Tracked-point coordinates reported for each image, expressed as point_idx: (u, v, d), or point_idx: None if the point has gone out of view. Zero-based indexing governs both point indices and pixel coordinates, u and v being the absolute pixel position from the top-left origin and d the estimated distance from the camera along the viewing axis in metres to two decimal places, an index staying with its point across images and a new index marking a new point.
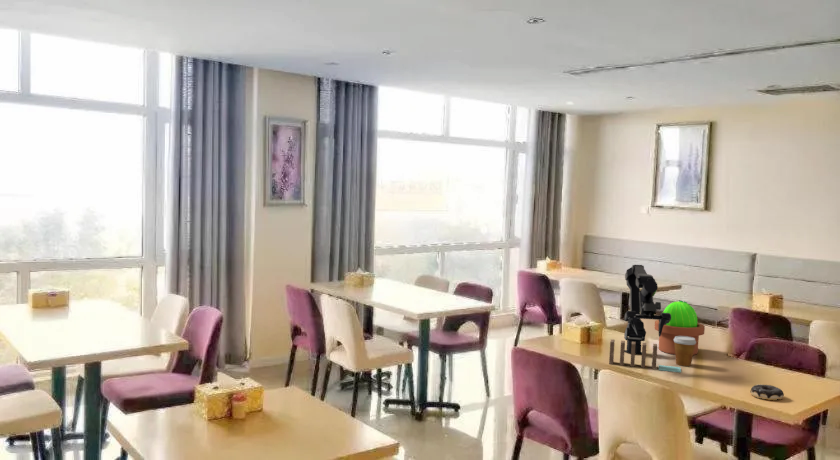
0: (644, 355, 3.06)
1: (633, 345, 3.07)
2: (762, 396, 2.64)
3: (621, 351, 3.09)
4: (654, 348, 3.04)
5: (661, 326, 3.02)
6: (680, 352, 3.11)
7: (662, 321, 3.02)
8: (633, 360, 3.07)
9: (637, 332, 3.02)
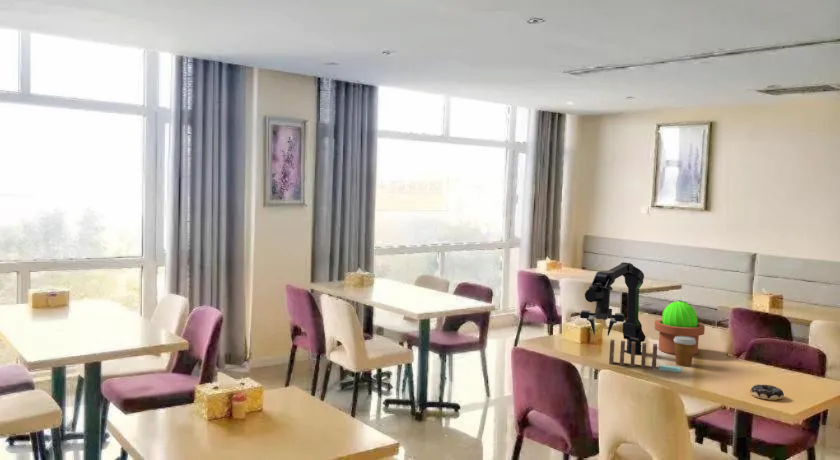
0: (644, 355, 3.06)
1: (633, 345, 3.07)
2: (762, 396, 2.64)
3: (621, 351, 3.09)
4: (654, 348, 3.04)
5: (609, 327, 3.11)
6: (680, 352, 3.11)
7: (610, 323, 3.10)
8: (633, 360, 3.07)
9: (593, 332, 3.14)
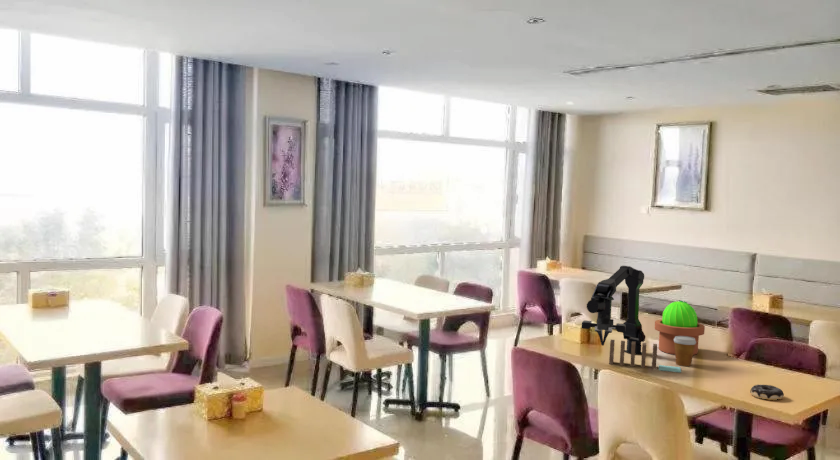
0: (644, 355, 3.06)
1: (633, 345, 3.07)
2: (762, 396, 2.64)
3: (621, 351, 3.09)
4: (654, 348, 3.04)
5: (605, 337, 3.12)
6: (680, 352, 3.11)
7: (605, 333, 3.11)
8: (633, 360, 3.07)
9: (601, 343, 3.13)
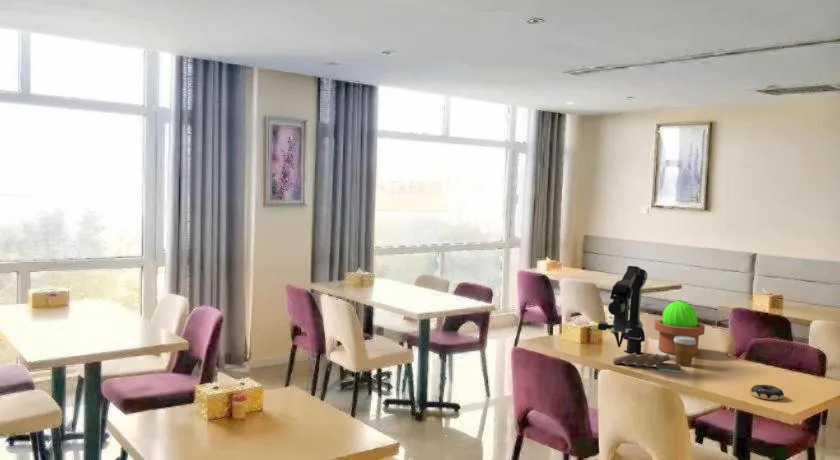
0: (659, 362, 3.04)
1: (657, 358, 3.04)
2: (762, 396, 2.64)
3: (638, 359, 3.07)
4: (678, 368, 3.02)
5: (621, 338, 3.10)
6: (680, 352, 3.11)
7: (622, 334, 3.08)
8: (642, 364, 3.06)
9: (618, 345, 3.11)
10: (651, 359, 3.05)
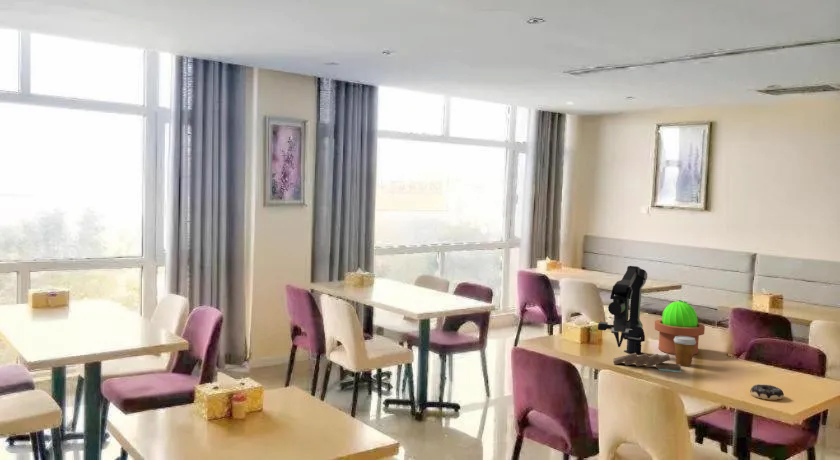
0: (659, 362, 3.04)
1: (657, 358, 3.04)
2: (762, 396, 2.64)
3: (638, 359, 3.07)
4: (678, 368, 3.02)
5: (621, 338, 3.10)
6: (680, 352, 3.11)
7: (622, 334, 3.08)
8: (642, 364, 3.06)
9: (618, 345, 3.11)
10: (651, 359, 3.05)
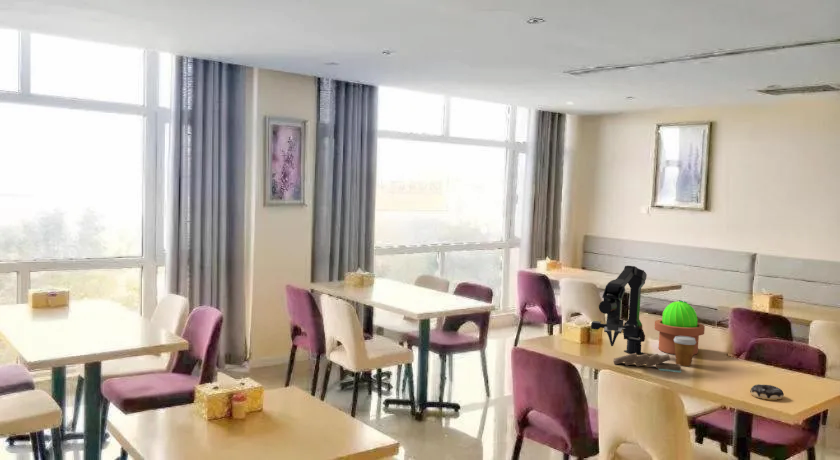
0: (659, 362, 3.04)
1: (657, 358, 3.04)
2: (762, 396, 2.64)
3: (638, 359, 3.07)
4: (678, 368, 3.02)
5: (614, 337, 3.10)
6: (680, 352, 3.11)
7: (615, 333, 3.09)
8: (642, 364, 3.06)
9: (611, 344, 3.11)
10: (651, 359, 3.05)
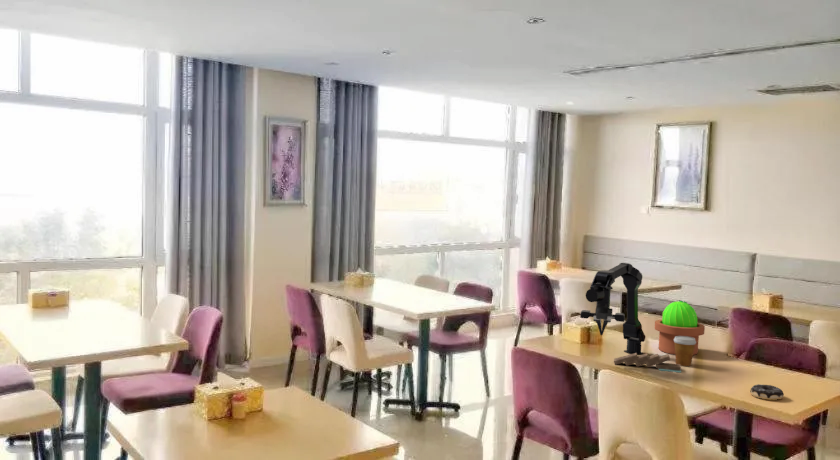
0: (659, 362, 3.04)
1: (657, 358, 3.04)
2: (762, 396, 2.64)
3: (639, 359, 3.06)
4: (678, 368, 3.02)
5: (603, 326, 3.09)
6: (680, 352, 3.11)
7: (604, 322, 3.08)
8: (642, 364, 3.06)
9: (600, 333, 3.10)
10: (651, 359, 3.05)
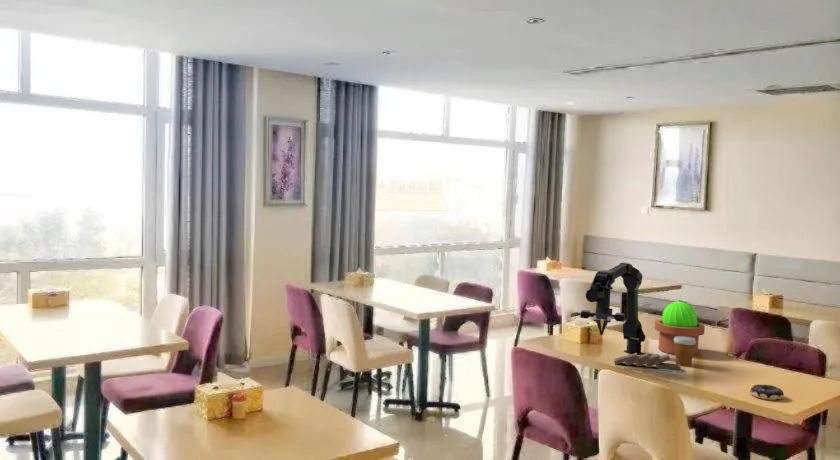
0: (659, 362, 3.04)
1: (657, 358, 3.04)
2: (762, 396, 2.64)
3: (639, 359, 3.06)
4: (678, 368, 3.02)
5: (603, 326, 3.09)
6: (680, 352, 3.11)
7: (604, 322, 3.08)
8: (642, 364, 3.06)
9: (600, 333, 3.10)
10: (651, 359, 3.05)
